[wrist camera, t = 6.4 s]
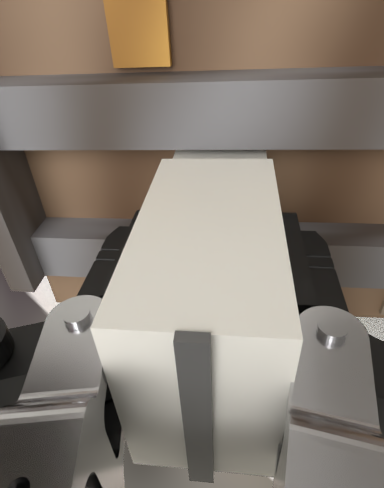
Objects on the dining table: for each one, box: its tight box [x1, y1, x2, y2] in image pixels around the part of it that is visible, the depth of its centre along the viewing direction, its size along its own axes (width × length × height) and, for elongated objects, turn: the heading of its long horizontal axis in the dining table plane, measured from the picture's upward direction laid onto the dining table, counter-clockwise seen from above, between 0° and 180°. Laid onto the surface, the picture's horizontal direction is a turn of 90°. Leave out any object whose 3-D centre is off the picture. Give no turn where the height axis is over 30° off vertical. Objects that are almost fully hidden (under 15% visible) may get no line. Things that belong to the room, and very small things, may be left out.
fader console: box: [0, 0, 384, 318], centre depth 13 cm, size 26×14×4 cm, turn 92°
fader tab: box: [90, 150, 303, 483], centre depth 10 cm, size 3×4×9 cm, turn 2°
